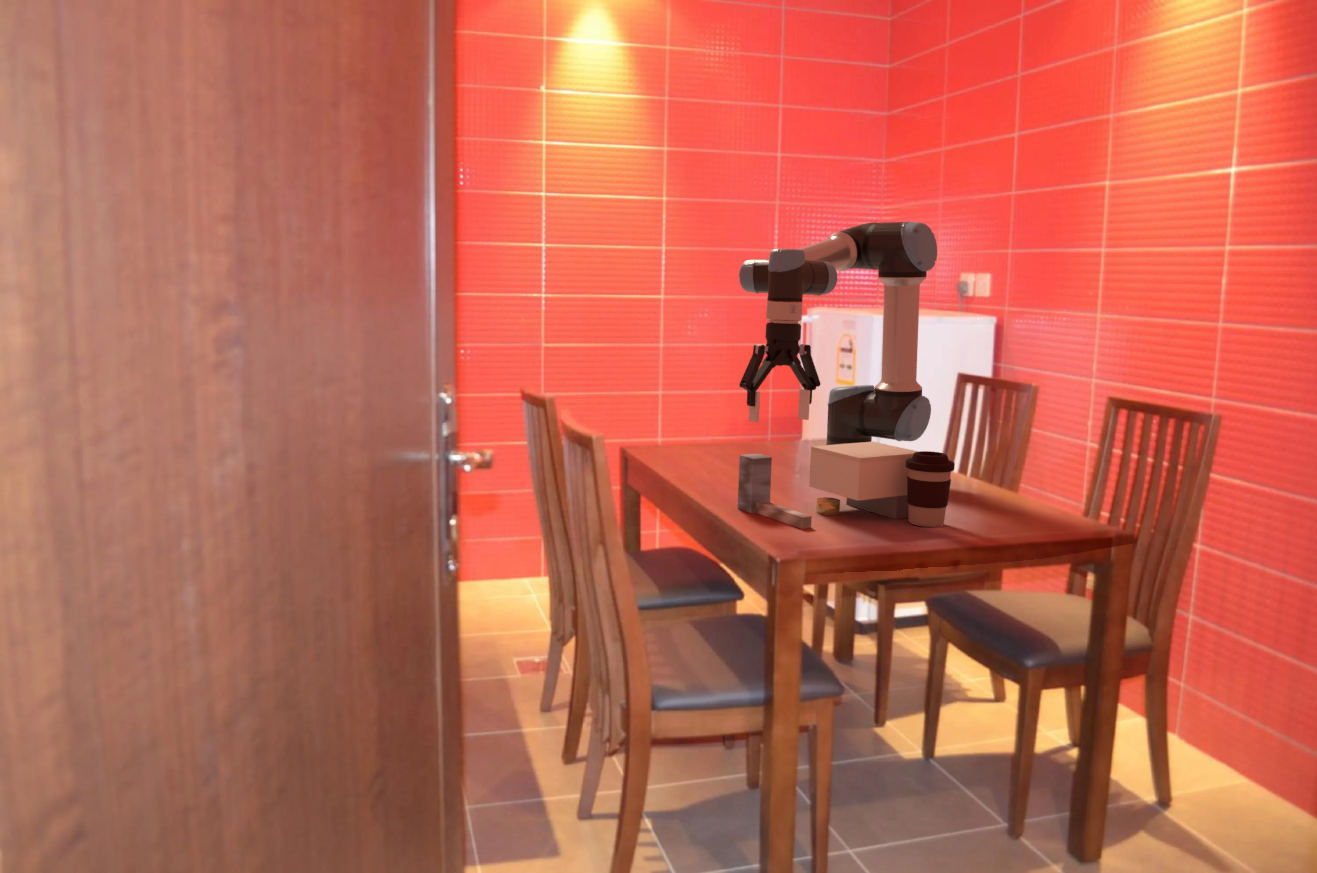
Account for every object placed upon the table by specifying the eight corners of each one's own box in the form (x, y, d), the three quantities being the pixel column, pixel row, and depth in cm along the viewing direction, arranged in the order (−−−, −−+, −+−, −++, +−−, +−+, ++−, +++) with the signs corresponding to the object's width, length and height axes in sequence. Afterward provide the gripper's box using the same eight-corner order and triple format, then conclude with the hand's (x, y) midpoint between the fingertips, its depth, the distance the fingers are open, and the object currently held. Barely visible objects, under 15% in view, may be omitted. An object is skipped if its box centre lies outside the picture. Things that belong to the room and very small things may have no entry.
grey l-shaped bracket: (737, 508, 232) (739, 455, 230) (756, 506, 235) (758, 453, 233) (796, 529, 214) (799, 471, 213) (816, 527, 217) (818, 469, 215)
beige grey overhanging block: (808, 508, 234) (811, 446, 232) (869, 501, 243) (873, 441, 241) (856, 524, 220) (859, 458, 218) (919, 515, 230) (923, 452, 227)
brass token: (811, 512, 231) (812, 498, 231) (829, 509, 234) (830, 496, 234) (826, 516, 227) (827, 503, 227) (844, 514, 230) (844, 501, 229)
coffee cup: (917, 530, 216) (921, 458, 214) (893, 519, 226) (897, 450, 224) (959, 528, 219) (964, 457, 217) (934, 517, 229) (939, 449, 226)
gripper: (747, 322, 216) (742, 424, 219) (839, 323, 229) (834, 420, 232) (725, 320, 223) (721, 420, 226) (817, 321, 236) (812, 415, 239)
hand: (778, 420), depth 229 cm, fingers open, 13 cm apart
